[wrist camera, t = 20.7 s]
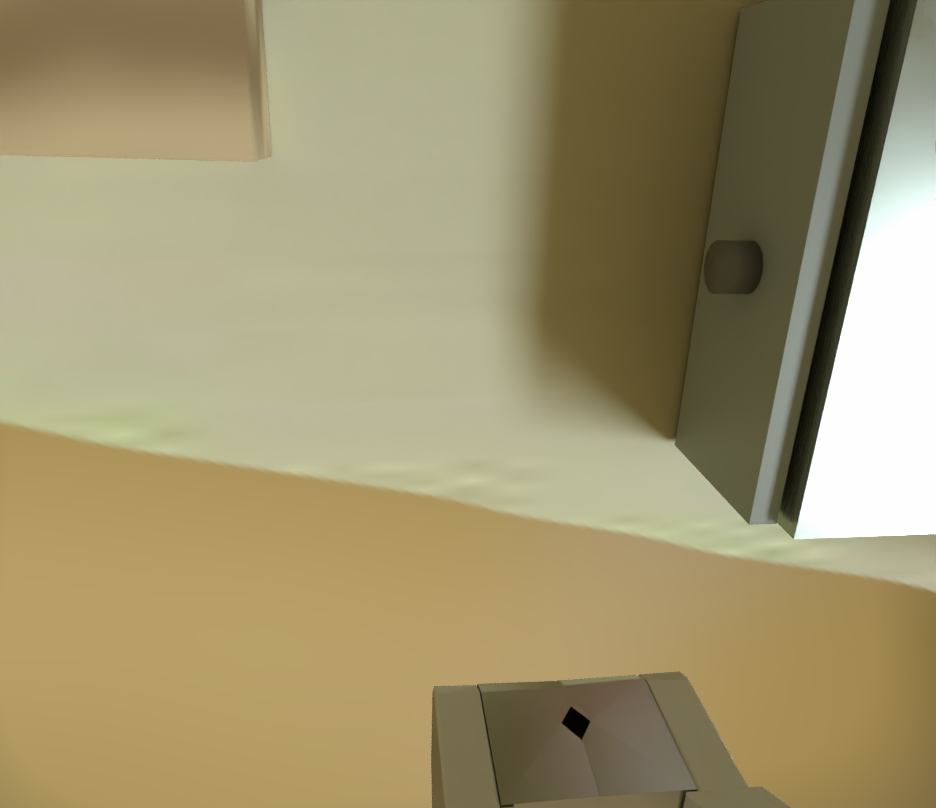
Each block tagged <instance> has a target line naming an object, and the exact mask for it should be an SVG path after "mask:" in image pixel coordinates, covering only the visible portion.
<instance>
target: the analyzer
mask: <svg viewBox="0 0 936 808" xmlns="http://www.w3.org/2000/svg"><path fill="white" fill-rule="evenodd" d="M777 523H778V524H779V525H780V526H781V527H782V528H783V529H784V530H785V531H786V532H787V533H788V534H789V535H790V536H791V537H792V538H793V539H811V538H837V537H862V536H888V535H913V534H936V0H890V3H889V7H888V12H887V16H886V21H885V26H884V30H883V35H882V39H881V44H880V49H879V53H878V58H877V62H876V67H875V72H874V76H873V81H872V86H871V90H870V95H869V99H868V104H867V109H866V113H865V118H864V122H863V127H862V132H861V136H860V141H859V145H858V150H857V155H856V159H855V164H854V168H853V173H852V178H851V182H850V187H849V192H848V196H847V201H846V205H845V210H844V215H843V219H842V224H841V228H840V233H839V238H838V242H837V247H836V251H835V256H834V261H833V265H832V270H831V274H830V279H829V284H828V288H827V293H826V298H825V302H824V307H823V311H822V316H821V321H820V325H819V330H818V334H817V339H816V344H815V348H814V353H813V357H812V362H811V367H810V371H809V376H808V380H807V385H806V390H805V394H804V399H803V404H802V408H801V413H800V417H799V422H798V427H797V431H796V436H795V440H794V445H793V450H792V454H791V459H790V463H789V468H788V473H787V477H786V482H785V486H784V491H783V496H782V500H781V505H780V510H779V514H778V519H777Z"/></svg>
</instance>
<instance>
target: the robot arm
mask: <svg viewBox="0 0 936 808" xmlns="http://www.w3.org/2000/svg"><path fill="white" fill-rule="evenodd" d="M431 749H432V750H431V772H432V808H791V807H789V806H788V805H786V804H785V803H784V802H782V801H781V800H780V799H778V798H777V797H775V796H774V795H773V794H771V793H770V792H769V791H767V790H766V789H764V788H763V787H748V785H747V783H746V782H745V780H744V778H743V776H742V775H741V773H740V771H739V769H738V767H737V766H736V764H735V762H734V760H733V759H732V757H731V755H730V753H729V751H728V750H727V748H726V746H725V744H724V742H723V741H722V739H721V737H720V735H719V733H718V732H717V730H716V728H715V727H714V724H713V723H712V721H711V719H710V718H709V716H708V714H707V712H706V710H705V708H704V707H703V705H702V703H701V701H700V699H699V698H698V696H697V694H696V693H695V691H694V689H693V687H692V685H691V683H690V682H689V680H688V679H687V677H686V676H685V675H684V674H682V673H681V672H667V673H653V674H640V675H639V676H636V675H629V676H615V677H602V678H587V679H573V680H560V681H544V682H518V683H489V684H478V685H477V686H476V685H465V686H464V685H463V686H434V690H433V698H432V747H431Z"/></svg>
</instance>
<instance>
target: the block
mask: <svg viewBox="0 0 936 808" xmlns="http://www.w3.org/2000/svg"><path fill="white" fill-rule="evenodd" d="M0 155H24V156H60V157H96V158H133V159H169V160H205V161H242V162H254V161H258V160H261V159H265V158H268V157H271V156H272V154H271V139H270V123H269V107H268V92H267V76H266V61H265V45H264V30H263V14H262V0H0Z"/></svg>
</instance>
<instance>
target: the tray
mask: <svg viewBox="0 0 936 808" xmlns="http://www.w3.org/2000/svg"><path fill="white" fill-rule="evenodd" d="M889 3H890V0H766V1H762V2H759V3H756V4H753V5H750V6H747V7H744V8H741V10H740V17H739V23H738V30H737V36H736V43H735V50H734V56H733V63H732V70H731V76H730V83H729V89H728V96H727V103H726V109H725V116H724V123H723V129H722V136H721V143H720V149H719V156H718V162H717V169H716V176H715V182H714V189H713V196H712V202H711V209H710V216H709V222H708V229H707V235H706V242H705V249H704V255H703V262H702V269H701V275H700V282H699V289H698V295H697V302H696V308H695V315H694V322H693V328H692V335H691V342H690V348H689V355H688V362H687V368H686V375H685V381H684V388H683V395H682V401H681V408H680V415H679V421H678V428H677V435H676V441H675V446H676V447H677V448H678V449H679V450H680V451H681V452H682V453H683V454H684V455H685V456H686V457H687V459H688V460H689V461H690V462H691V463H692V464H693V465H694V466H695V467H696V468H697V469H698V470H699V471H700V472H701V474H702V475H703V476H704V477H705V478H706V479H707V480H708V481H709V482H710V483H711V484H712V485H713V486H714V487H715V488H716V490H717V491H718V492H719V493H720V494H721V495H722V496H723V497H724V498H725V499H726V500H727V501H728V502H729V503H730V505H731V506H732V507H733V508H734V509H735V510H736V511H737V512H738V513H739V514H740V515H741V516H742V517H743V518H744V520H745V521H746V522H747V523H748V524H749V525H752V524H776V523H777V519H778V514H779V510H780V505H781V500H782V496H783V491H784V486H785V482H786V477H787V473H788V468H789V463H790V459H791V454H792V450H793V445H794V440H795V436H796V431H797V427H798V422H799V417H800V413H801V408H802V404H803V399H804V394H805V390H806V385H807V380H808V376H809V371H810V367H811V362H812V357H813V353H814V348H815V344H816V339H817V334H818V330H819V325H820V321H821V316H822V311H823V307H824V302H825V298H826V293H827V288H828V284H829V279H830V274H831V270H832V265H833V261H834V256H835V251H836V247H837V242H838V238H839V233H840V228H841V224H842V219H843V215H844V210H845V205H846V201H847V196H848V192H849V187H850V182H851V178H852V173H853V168H854V164H855V159H856V155H857V150H858V145H859V141H860V136H861V132H862V127H863V122H864V118H865V113H866V109H867V104H868V99H869V95H870V90H871V86H872V81H873V76H874V72H875V67H876V62H877V58H878V53H879V49H880V44H881V39H882V35H883V30H884V26H885V21H886V16H887V12H888V7H889Z"/></svg>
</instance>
